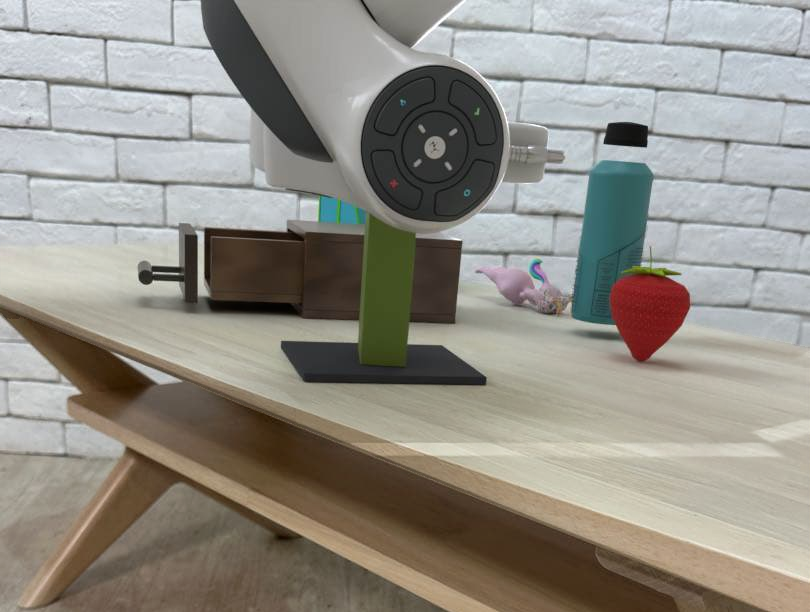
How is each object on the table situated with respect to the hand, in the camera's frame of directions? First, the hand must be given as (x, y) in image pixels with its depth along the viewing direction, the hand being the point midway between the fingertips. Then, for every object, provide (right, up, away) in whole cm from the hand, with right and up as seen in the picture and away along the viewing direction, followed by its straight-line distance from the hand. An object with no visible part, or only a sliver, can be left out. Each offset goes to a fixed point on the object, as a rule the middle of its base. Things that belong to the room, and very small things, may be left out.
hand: (392, 141), depth 74 cm
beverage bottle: (+21, -9, +28) cm, 36 cm away
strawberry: (+22, -14, +15) cm, 30 cm away
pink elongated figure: (+14, -2, +42) cm, 45 cm away
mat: (-1, -16, +5) cm, 17 cm away
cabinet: (-3, -5, +31) cm, 31 cm away
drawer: (-16, -5, +27) cm, 32 cm away
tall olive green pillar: (-1, -15, +5) cm, 16 cm away
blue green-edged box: (-3, +3, +52) cm, 52 cm away
